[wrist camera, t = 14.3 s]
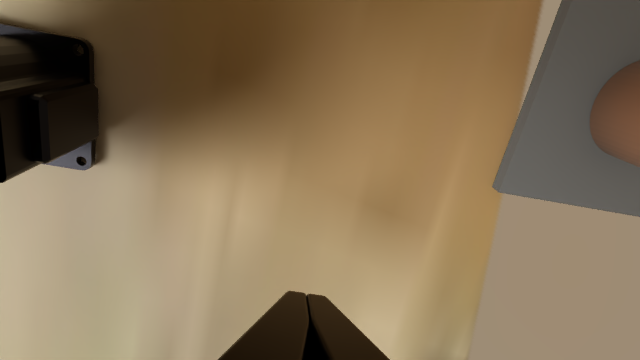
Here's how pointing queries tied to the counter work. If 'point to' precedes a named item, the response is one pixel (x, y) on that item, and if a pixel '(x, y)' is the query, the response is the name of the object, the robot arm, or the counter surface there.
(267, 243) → the counter surface
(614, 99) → the brown rounded tapered cylinder
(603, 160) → the gray panel
